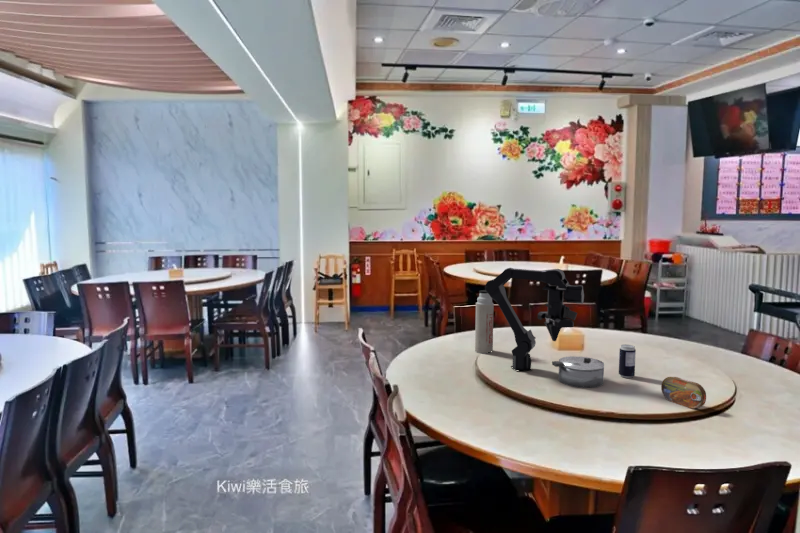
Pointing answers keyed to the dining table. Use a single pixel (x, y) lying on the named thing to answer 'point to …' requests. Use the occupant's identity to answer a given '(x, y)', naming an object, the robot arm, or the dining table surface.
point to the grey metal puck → (581, 377)
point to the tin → (683, 392)
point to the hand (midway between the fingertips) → (554, 341)
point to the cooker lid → (579, 363)
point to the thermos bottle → (484, 323)
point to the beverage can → (627, 361)
